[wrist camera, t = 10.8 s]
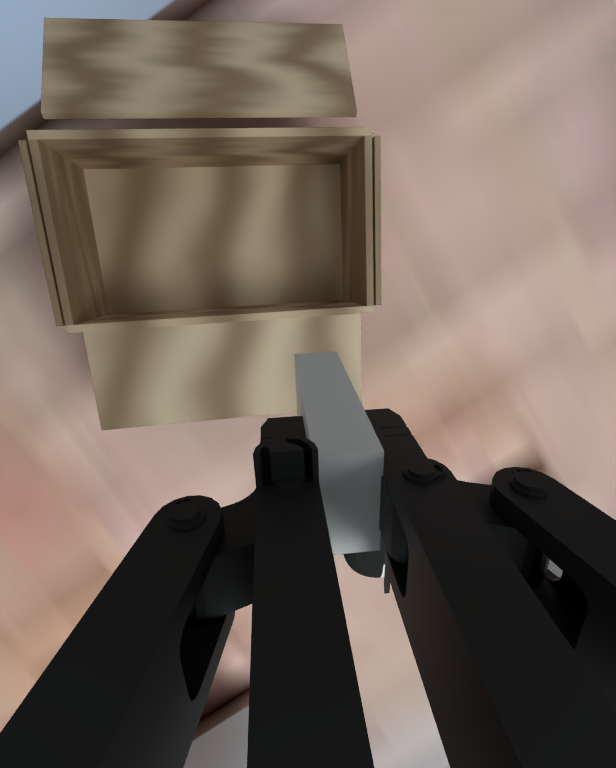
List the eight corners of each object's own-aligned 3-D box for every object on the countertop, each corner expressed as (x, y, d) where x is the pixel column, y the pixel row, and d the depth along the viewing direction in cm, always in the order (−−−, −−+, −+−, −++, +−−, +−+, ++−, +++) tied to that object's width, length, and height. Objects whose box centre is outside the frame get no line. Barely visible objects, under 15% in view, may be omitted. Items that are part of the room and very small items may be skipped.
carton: (351, 158, 35) (380, 126, 27) (355, 378, 40) (382, 403, 32) (69, 164, 32) (15, 130, 25) (112, 399, 37) (77, 432, 30)
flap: (355, 117, 27) (340, 31, 29) (356, 111, 27) (342, 24, 29) (44, 120, 25) (47, 25, 27) (40, 113, 25) (44, 18, 26)
